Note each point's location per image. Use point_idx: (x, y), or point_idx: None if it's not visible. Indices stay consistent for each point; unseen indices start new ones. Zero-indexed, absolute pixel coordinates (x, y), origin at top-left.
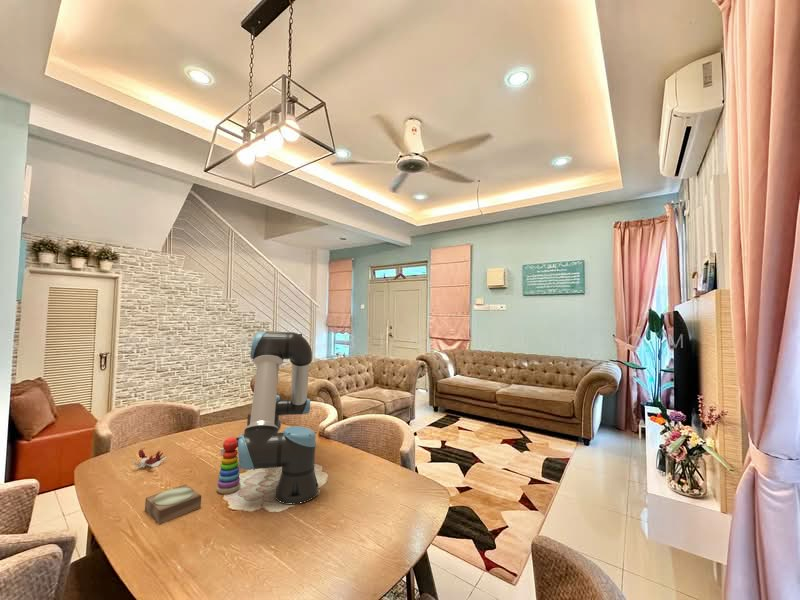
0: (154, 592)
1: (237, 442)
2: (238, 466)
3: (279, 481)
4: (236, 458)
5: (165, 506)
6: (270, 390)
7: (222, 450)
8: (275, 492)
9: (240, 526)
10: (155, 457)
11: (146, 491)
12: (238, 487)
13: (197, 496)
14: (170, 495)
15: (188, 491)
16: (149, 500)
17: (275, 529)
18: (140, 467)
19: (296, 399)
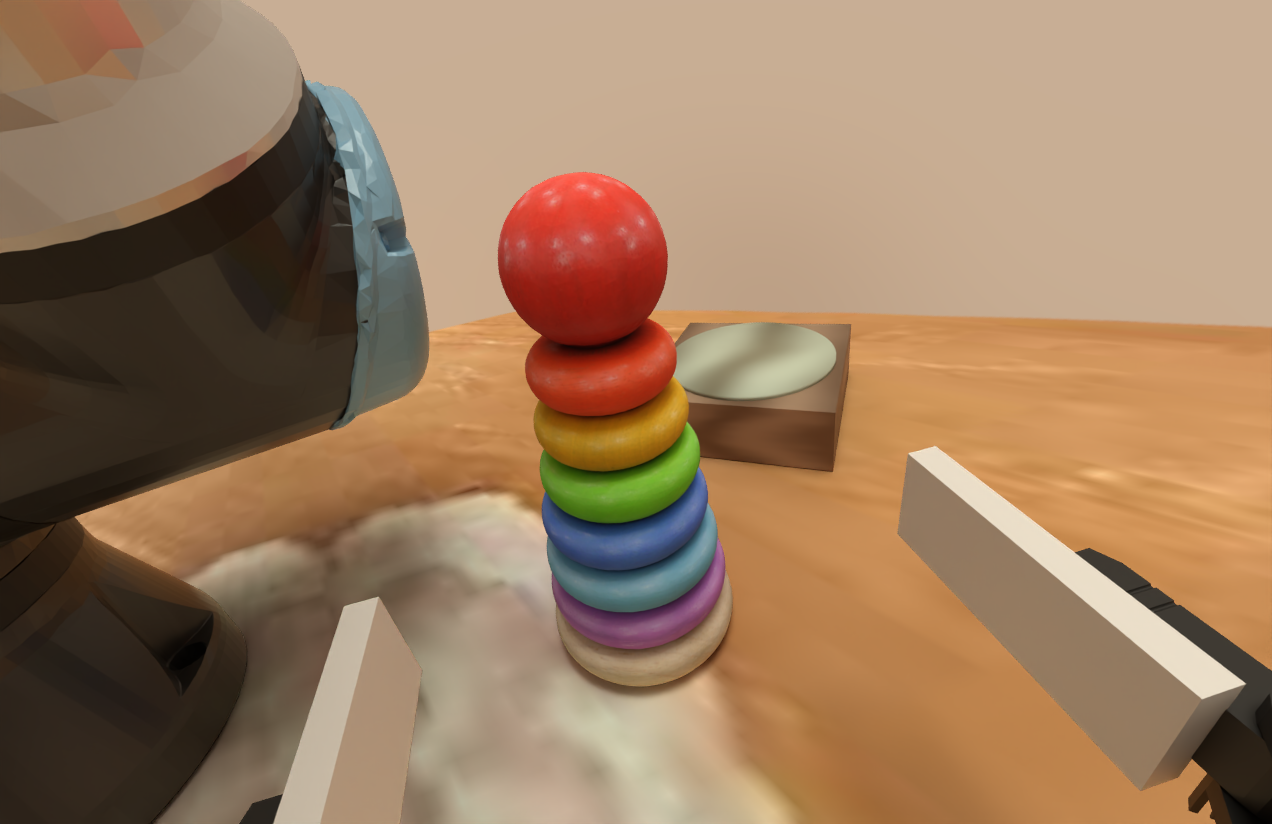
0: (494, 317)
1: (499, 259)
2: (562, 529)
3: (150, 578)
4: (534, 414)
5: (700, 332)
6: None
7: (913, 472)
8: (228, 628)
9: (394, 445)
10: None
11: (1095, 424)
12: (556, 613)
13: None
14: (765, 351)
15: (722, 384)
16: (809, 324)
17: (248, 476)
18: None
19: None
